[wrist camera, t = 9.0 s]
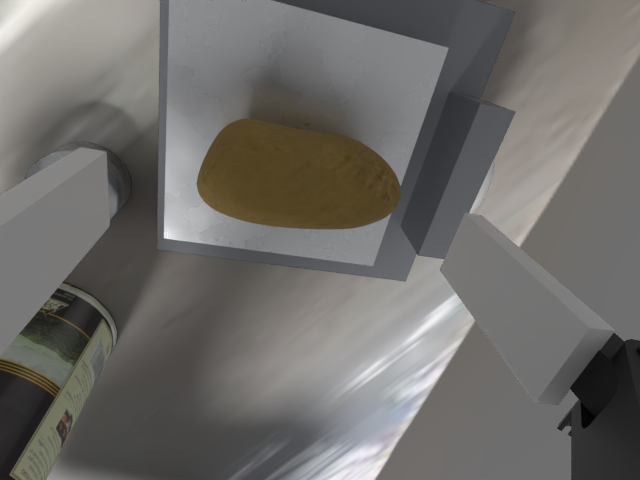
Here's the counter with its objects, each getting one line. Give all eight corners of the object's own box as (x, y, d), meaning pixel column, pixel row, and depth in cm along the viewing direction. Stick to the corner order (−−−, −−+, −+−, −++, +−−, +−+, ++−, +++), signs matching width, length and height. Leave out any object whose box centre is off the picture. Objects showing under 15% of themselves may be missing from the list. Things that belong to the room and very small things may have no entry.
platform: (369, 257, 25) (372, 266, 24) (167, 230, 22) (163, 238, 22) (441, 46, 19) (449, 47, 18) (175, -25, 16) (169, -28, 15)
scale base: (402, 261, 31) (432, 315, 25) (168, 228, 27) (138, 283, 21) (498, 17, 23) (576, 13, 17) (177, -78, 19) (132, -125, 13)
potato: (191, 140, 19) (144, 205, 12) (314, 47, 17) (338, 61, 11) (274, 235, 22) (273, 328, 15) (383, 164, 21) (436, 233, 14)
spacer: (132, 216, 27) (117, 237, 24) (55, 205, 26) (31, 225, 23) (131, 149, 24) (113, 164, 22) (46, 134, 23) (17, 148, 21)
